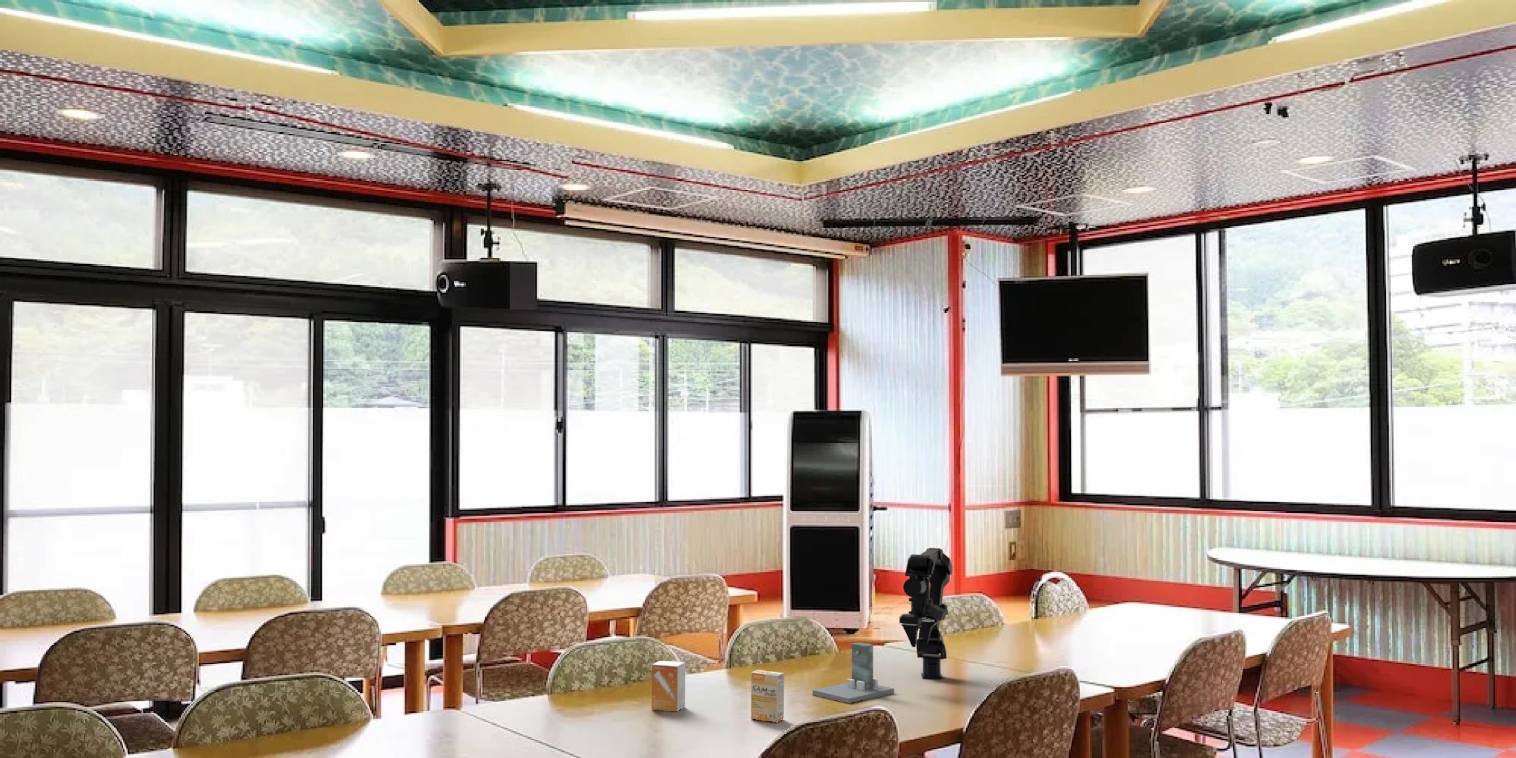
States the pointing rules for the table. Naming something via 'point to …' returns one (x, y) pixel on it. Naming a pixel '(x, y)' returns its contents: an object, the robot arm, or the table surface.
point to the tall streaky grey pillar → (862, 664)
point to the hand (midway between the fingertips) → (919, 645)
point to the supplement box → (767, 695)
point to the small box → (668, 685)
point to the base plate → (853, 691)
